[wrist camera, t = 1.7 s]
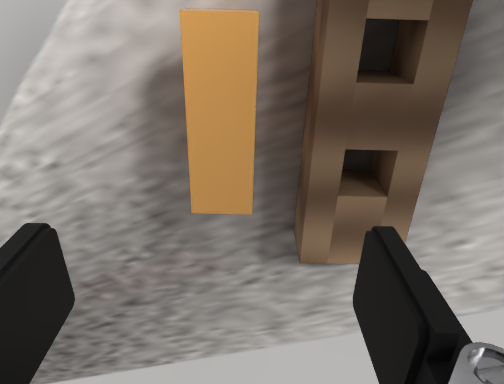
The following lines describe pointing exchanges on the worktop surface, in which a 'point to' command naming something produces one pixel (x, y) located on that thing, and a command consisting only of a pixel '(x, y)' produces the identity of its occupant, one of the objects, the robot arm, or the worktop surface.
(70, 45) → the worktop surface
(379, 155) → the rail
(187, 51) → the orange block
